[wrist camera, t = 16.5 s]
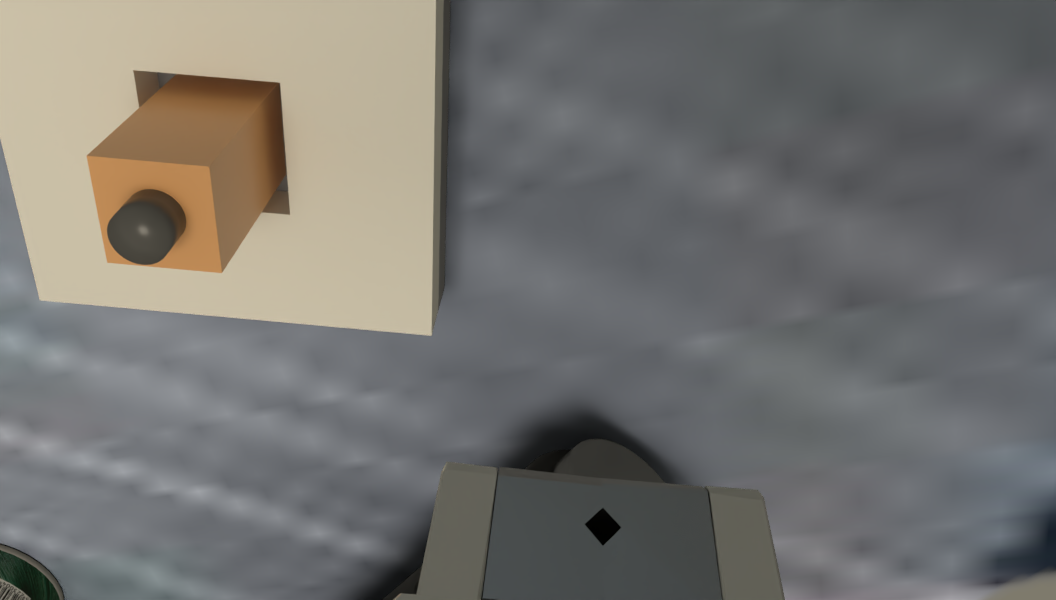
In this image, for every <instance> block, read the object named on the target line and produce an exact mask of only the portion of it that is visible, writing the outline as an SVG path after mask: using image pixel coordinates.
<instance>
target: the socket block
mask: <svg viewBox="0 0 1056 600" xmlns="http://www.w3.org/2000/svg"><path fill="white" fill-rule="evenodd" d="M450 3H451V0H0V139H1V143H2V147H3V151H4V155H5V159H6V163H7V167H8V172H9V176H10V180H11V184H12V188H13V192H14V196H15V200H16V204H17V208H18V212H19V217H20V221H21V225H22V229H23V233H24V237H25V241H26V245H27V249H28V253H29V257H30V262H31V266H32V270H33V274H34V278H35V282H36V286H37V290H38V294H39V298H40V300H42V301H53V302H65V303H76V304H87V305H98V306H109V307H120V308H131V309H142V310H153V311H164V312H175V313H186V314H197V315H208V316H220V317H231V318H242V319H253V320H264V321H275V322H286V323H297V324H308V325H319V326H330V327H341V328H352V329H364V330H375V331H386V332H397V333H408V334H419V335H430V336H432V332H433V329H434V325H435V321H436V317H437V313H438V310H439V306H440V302H441V298H442V295H443V291H444V287H445V240H446V193H447V145H448V98H449V50H450ZM176 74H184V75H196V76H208V77H220V78H231V79H243V80H255V81H267V82H278V83H279V86H280V99H281V112H282V126H283V139H284V153H285V166H286V175H285V177H284V178H283V180H282V182H281V183H280V185H279V186H278V188H277V189H276V191H275V192H274V194H273V195H272V197H271V199H270V200H269V202H268V203H267V205H266V206H265V208H264V209H263V211H262V212H261V214H260V215H259V217H258V219H257V220H256V222H255V223H254V225H253V226H252V228H251V229H250V231H249V232H248V234H247V235H246V237H245V239H244V240H243V242H242V243H241V245H240V246H239V248H238V249H237V251H236V252H235V254H234V256H233V257H232V259H231V260H230V262H229V263H228V265H227V266H226V268H225V269H224V271H223V272H222V273H215V272H204V271H193V270H182V269H171V268H160V267H149V266H138V265H127V264H116V263H107V259H106V254H105V249H104V244H103V239H102V234H101V228H100V223H99V218H98V213H97V208H96V203H95V197H94V192H93V187H92V182H91V177H90V172H89V166H88V161H87V155H88V154H89V153H90V152H91V151H92V150H93V149H94V148H96V147H97V146H98V145H99V144H100V143H101V142H102V141H103V140H104V139H105V138H107V137H108V136H109V135H110V134H111V133H112V132H113V131H114V130H115V129H116V128H118V127H119V126H120V125H121V124H122V123H123V122H124V121H125V120H126V119H127V118H129V117H130V116H131V115H132V114H133V113H134V112H135V111H136V110H137V109H138V108H140V107H141V106H142V105H143V104H144V103H145V102H146V101H147V100H148V99H149V98H151V97H152V96H153V95H154V94H155V93H156V92H157V91H158V90H159V89H160V88H162V87H163V86H164V85H165V84H166V83H167V82H168V81H169V80H170V79H171V78H173V77H174V76H175V75H176Z"/></svg>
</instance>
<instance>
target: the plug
mask: <svg viewBox="0 0 1056 600" xmlns="http://www.w3.org/2000/svg"><path fill="white" fill-rule="evenodd" d="M87 161H88V166H89V172H90V177H91V182H92V187H93V192H94V197H95V203H96V208H97V213H98V218H99V223H100V228H101V234H102V239H103V244H104V249H105V254H106V259H107V263H116V264H127V265H138V266H149V267H160V268H171V269H182V270H193V271H204V272H215V273H222V272H223V271H224V269H225V268H226V266H227V265H228V263H229V262H230V260H231V259H232V257H233V256H234V254H235V252H236V251H237V249H238V248H239V246H240V245H241V243H242V242H243V240H244V239H245V237H246V235H247V234H248V232H249V231H250V229H251V228H252V226H253V225H254V223H255V222H256V220H257V219H258V217H259V215H260V214H261V212H262V211H263V209H264V208H265V206H266V205H267V203H268V202H269V200H270V199H271V197H272V195H273V194H274V192H275V191H276V189H277V188H278V186H279V185H280V183H281V182H282V180H283V178H284V177H285V175H286V166H285V153H284V139H283V126H282V112H281V99H280V86H279V83H278V82H267V81H255V80H243V79H231V78H220V77H208V76H196V75H184V74H176V75H175V76H174V77H173V78H171V79H170V80H169V81H168V82H167V83H166V84H165V85H164V86H163V87H162V88H160V89H159V90H158V91H157V92H156V93H155V94H154V95H153V96H152V97H151V98H149V99H148V100H147V101H146V102H145V103H144V104H143V105H142V106H141V107H140V108H138V109H137V110H136V111H135V112H134V113H133V114H132V115H131V116H130V117H129V118H127V119H126V120H125V121H124V122H123V123H122V124H121V125H120V126H119V127H118V128H116V129H115V130H114V131H113V132H112V133H111V134H110V135H109V136H108V137H107V138H105V139H104V140H103V141H102V142H101V143H100V144H99V145H98V146H97V147H96V148H94V149H93V150H92V151H91V152H90V153H89V154H88V155H87Z"/></svg>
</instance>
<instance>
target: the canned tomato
mask: <svg viewBox="0 0 1056 600" xmlns="http://www.w3.org/2000/svg"><path fill="white" fill-rule="evenodd" d="M0 600H64V597H63V593H62V590H61V588H60V586H59V584H58V582H57V581H56V579H55V578H54V577H53V576H52V574H51V573H50V572H49V571H48V570H47V569H46V568H45V567H43V566H42V565H41V564H40V563H39V562H37V561H35V560H34V559H32V558H31V557H29V556H28V555H26V554H24V553H22V552H20V551H18V550H15V549H12V548H10V547H7V546H4V545H0Z"/></svg>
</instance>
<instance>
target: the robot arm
mask: <svg viewBox="0 0 1056 600" xmlns="http://www.w3.org/2000/svg"><path fill="white" fill-rule="evenodd" d="M393 600H785V597H784V593H783V588H782V583H781V578H780V573H779V569H778V564H777V559H776V554H775V549H774V544H773V540H772V535H771V530H770V525H769V520H768V515H767V511H766V506H765V501H764V497H763V496H762V495H761V493H760V492H759V491H758V490H753V489H740V488H726V487H713V486H706V487H705V488H703V487H702V486H692V485H680V484H668V483H656V482H643V481H631V480H619V479H607V478H595V477H586V476H577V475H568V474H560V473H551V472H542V471H533V470H525V469H516V468H507V467H500V468H499V472H498V468H496V467H488V466H480V465H471V464H463V463H455V462H446V464H445V466H444V468H443V470H442V472H441V477H440V482H439V487H438V491H437V496H436V501H435V506H434V511H433V516H432V521H431V526H430V531H429V535H428V540H427V545H426V550H425V555H424V560H423V565H422V570H421V574H420V579H419V584H418V589H417V594H403V593H400V594H399V595H398V596H397V597H396V598H394V599H393Z"/></svg>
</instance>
